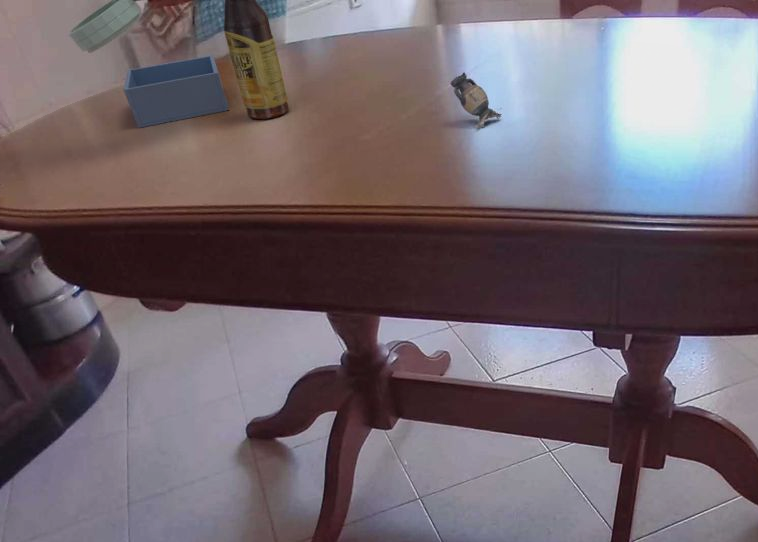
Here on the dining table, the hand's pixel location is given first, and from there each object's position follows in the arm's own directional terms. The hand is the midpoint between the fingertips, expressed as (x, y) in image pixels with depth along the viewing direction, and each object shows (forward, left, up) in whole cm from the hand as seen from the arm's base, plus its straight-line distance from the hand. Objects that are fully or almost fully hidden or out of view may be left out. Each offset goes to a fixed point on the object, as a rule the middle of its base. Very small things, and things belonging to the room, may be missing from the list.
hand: (130, 1), depth 87 cm
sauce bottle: (+13, +3, -18) cm, 22 cm away
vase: (+37, -19, -18) cm, 45 cm away
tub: (+1, +16, -17) cm, 23 cm away
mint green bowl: (-3, 0, -3) cm, 4 cm away
